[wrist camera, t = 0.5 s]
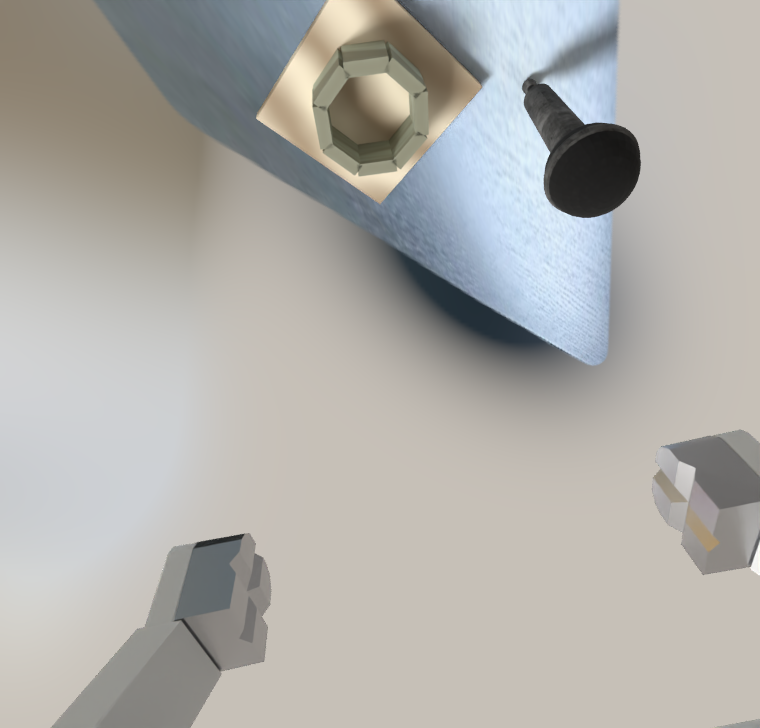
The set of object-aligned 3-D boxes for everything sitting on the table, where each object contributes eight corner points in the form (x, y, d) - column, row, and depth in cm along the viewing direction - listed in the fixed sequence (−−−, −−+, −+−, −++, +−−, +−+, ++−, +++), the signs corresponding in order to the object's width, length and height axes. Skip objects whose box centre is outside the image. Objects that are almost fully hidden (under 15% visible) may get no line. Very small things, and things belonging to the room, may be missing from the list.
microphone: (574, 90, 49) (669, 201, 36) (509, 134, 52) (576, 252, 39) (547, 25, 45) (645, 124, 32) (479, 77, 48) (543, 188, 34)
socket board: (352, -44, 40) (356, -27, 37) (479, 82, 48) (492, 104, 44) (257, 113, 48) (252, 138, 45) (379, 198, 56) (383, 224, 53)
